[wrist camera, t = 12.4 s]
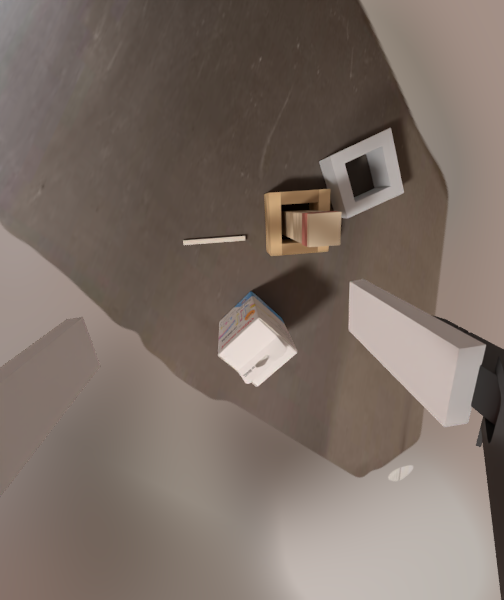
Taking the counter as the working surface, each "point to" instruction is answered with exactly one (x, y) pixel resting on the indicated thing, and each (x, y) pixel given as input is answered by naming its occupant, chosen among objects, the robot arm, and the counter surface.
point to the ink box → (254, 340)
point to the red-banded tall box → (312, 227)
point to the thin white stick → (214, 240)
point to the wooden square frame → (273, 203)
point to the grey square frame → (381, 170)
